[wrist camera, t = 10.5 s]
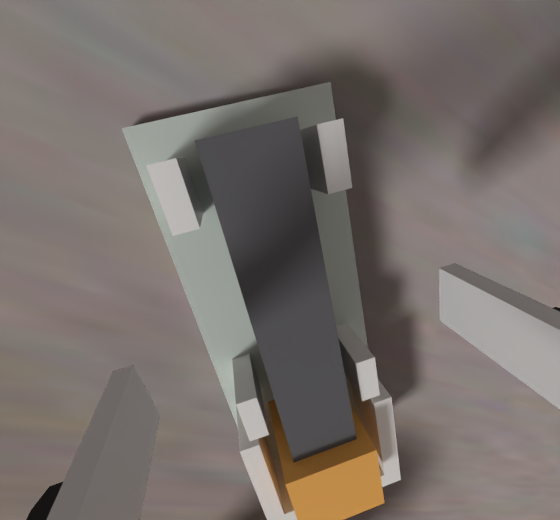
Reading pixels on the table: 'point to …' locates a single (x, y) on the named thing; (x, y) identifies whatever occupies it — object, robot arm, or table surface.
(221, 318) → the board
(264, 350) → the bar
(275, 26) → the table surface
